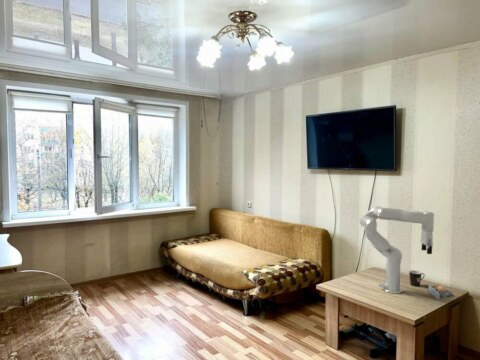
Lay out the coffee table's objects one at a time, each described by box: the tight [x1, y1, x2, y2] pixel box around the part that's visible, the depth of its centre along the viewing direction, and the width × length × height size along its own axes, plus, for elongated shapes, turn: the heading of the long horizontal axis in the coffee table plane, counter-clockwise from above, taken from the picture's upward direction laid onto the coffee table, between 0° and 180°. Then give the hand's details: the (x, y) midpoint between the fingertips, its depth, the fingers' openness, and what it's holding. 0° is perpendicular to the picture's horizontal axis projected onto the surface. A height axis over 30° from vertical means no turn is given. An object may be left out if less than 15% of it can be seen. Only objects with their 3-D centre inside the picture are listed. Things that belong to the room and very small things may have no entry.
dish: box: [430, 286, 453, 298], centre depth 244 cm, size 10×10×2 cm
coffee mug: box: [408, 269, 425, 288], centre depth 261 cm, size 12×9×10 cm
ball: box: [437, 285, 447, 293], centre depth 244 cm, size 5×5×5 cm
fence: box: [427, 285, 441, 300], centre depth 243 cm, size 2×15×4 cm, turn 172°
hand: (426, 252), depth 250 cm, fingers open, 9 cm apart
